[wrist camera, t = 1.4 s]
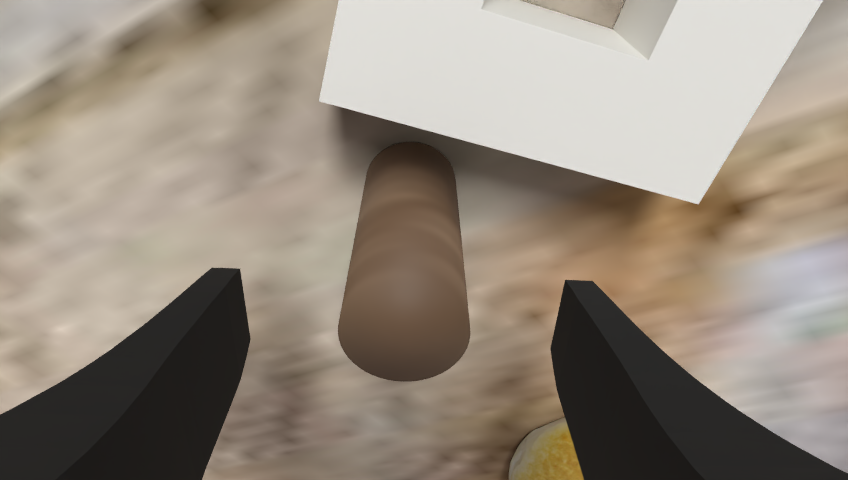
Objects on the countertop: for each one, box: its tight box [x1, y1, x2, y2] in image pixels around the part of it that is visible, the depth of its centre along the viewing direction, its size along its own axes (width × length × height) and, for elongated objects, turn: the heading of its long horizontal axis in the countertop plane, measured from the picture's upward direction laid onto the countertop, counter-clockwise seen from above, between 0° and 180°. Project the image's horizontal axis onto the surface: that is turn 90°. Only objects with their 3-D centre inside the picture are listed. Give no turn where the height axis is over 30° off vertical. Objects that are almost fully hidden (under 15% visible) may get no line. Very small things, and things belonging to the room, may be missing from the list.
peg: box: [338, 142, 470, 381], centre depth 15 cm, size 3×3×7 cm
